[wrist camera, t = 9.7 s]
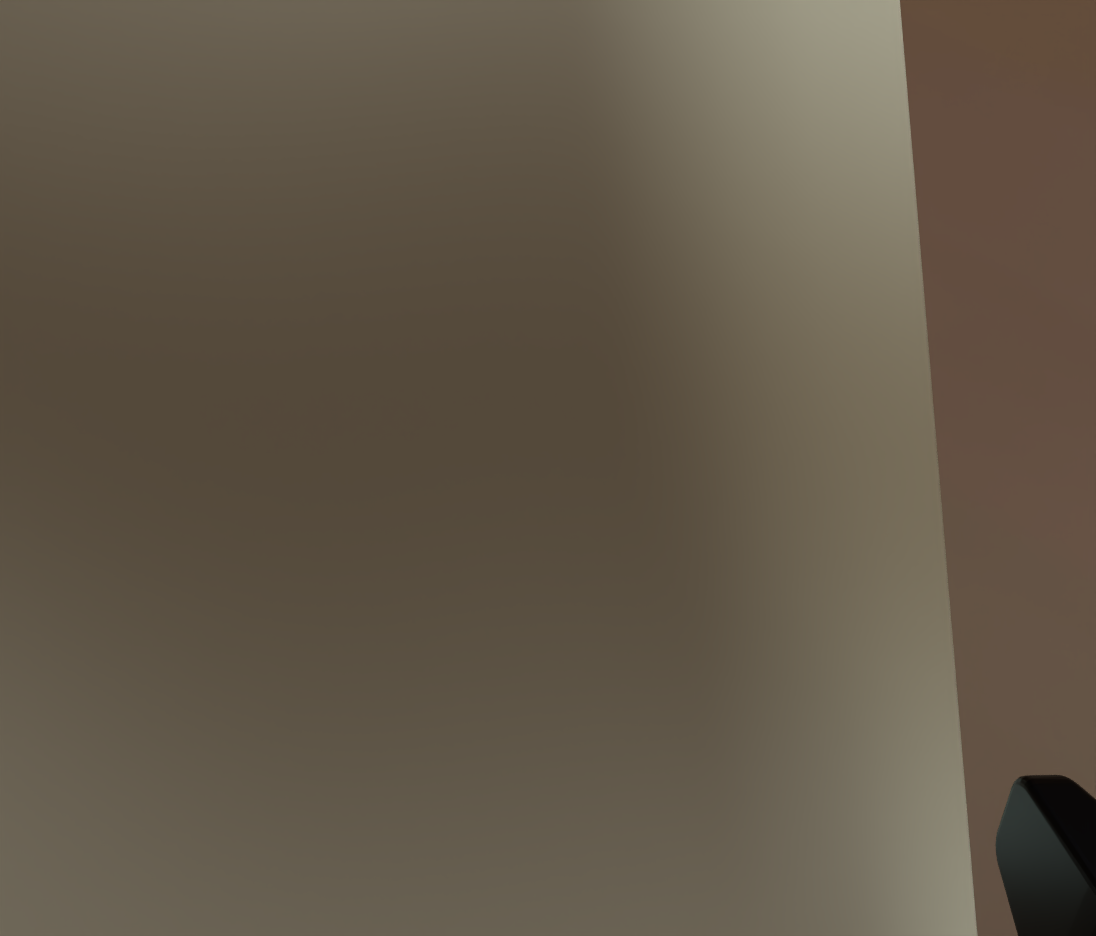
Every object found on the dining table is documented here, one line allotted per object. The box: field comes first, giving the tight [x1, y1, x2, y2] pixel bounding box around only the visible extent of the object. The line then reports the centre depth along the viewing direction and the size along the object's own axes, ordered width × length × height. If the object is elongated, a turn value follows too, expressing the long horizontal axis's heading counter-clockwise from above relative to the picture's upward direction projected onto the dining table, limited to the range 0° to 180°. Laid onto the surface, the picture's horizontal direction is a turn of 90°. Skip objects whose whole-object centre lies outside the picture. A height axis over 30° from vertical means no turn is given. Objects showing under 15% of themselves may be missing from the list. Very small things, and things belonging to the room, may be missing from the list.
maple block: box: [0, 0, 977, 936], centre depth 11 cm, size 5×5×13 cm
